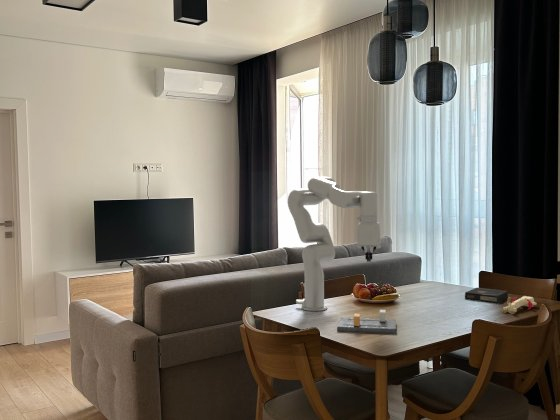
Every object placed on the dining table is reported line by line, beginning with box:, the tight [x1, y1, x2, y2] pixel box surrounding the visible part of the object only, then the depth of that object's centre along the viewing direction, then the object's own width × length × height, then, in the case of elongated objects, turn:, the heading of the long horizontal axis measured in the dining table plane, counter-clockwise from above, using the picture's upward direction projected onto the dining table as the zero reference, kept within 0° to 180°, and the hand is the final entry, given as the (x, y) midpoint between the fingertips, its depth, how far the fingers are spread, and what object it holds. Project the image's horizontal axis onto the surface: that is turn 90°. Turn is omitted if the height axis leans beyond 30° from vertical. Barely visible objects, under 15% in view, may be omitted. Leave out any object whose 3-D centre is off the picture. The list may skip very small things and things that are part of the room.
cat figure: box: [501, 295, 537, 315], centre depth 268 cm, size 10×9×25 cm
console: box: [336, 317, 397, 335], centre depth 239 cm, size 24×16×2 cm, turn 79°
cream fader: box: [379, 309, 387, 322], centre depth 241 cm, size 2×4×4 cm, turn 169°
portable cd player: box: [464, 287, 509, 304], centre depth 293 cm, size 16×17×4 cm
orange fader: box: [353, 313, 361, 326], centre depth 235 cm, size 2×4×4 cm, turn 169°
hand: (368, 261), depth 247 cm, fingers closed
